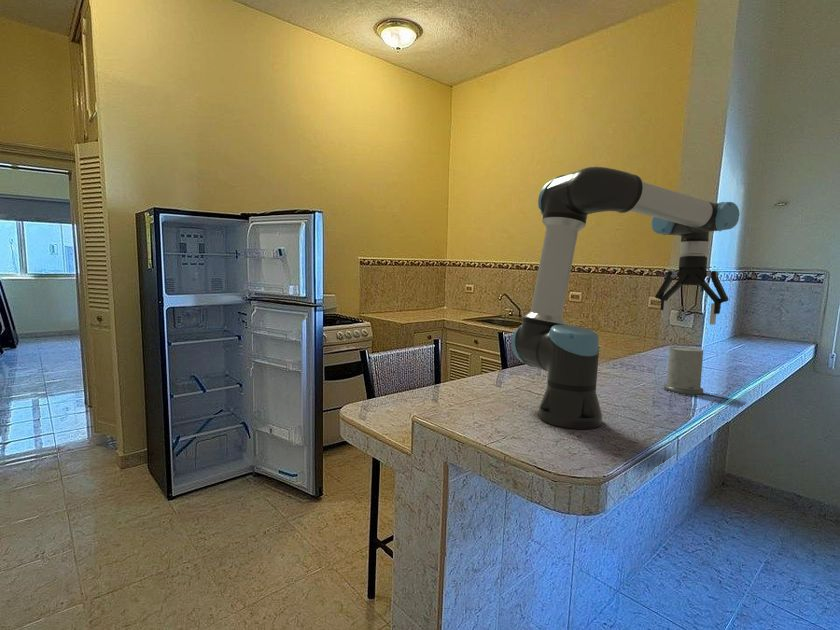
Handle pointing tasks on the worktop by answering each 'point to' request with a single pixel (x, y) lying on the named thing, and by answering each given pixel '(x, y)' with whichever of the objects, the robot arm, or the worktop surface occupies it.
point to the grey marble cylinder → (685, 368)
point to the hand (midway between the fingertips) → (688, 322)
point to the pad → (683, 390)
